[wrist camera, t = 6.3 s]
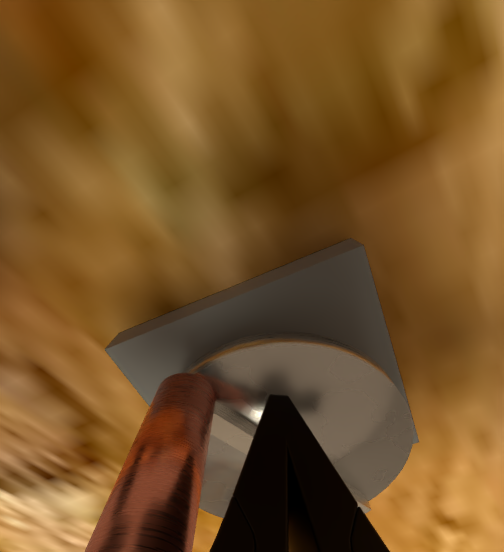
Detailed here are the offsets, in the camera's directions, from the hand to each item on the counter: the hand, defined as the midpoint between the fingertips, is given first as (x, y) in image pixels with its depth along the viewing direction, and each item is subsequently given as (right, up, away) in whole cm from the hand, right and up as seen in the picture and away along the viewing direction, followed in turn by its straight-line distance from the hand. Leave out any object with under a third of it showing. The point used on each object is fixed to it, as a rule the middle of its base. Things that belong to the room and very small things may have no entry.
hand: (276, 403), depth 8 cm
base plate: (+1, -2, +8) cm, 8 cm away
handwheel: (0, -3, +6) cm, 7 cm away
